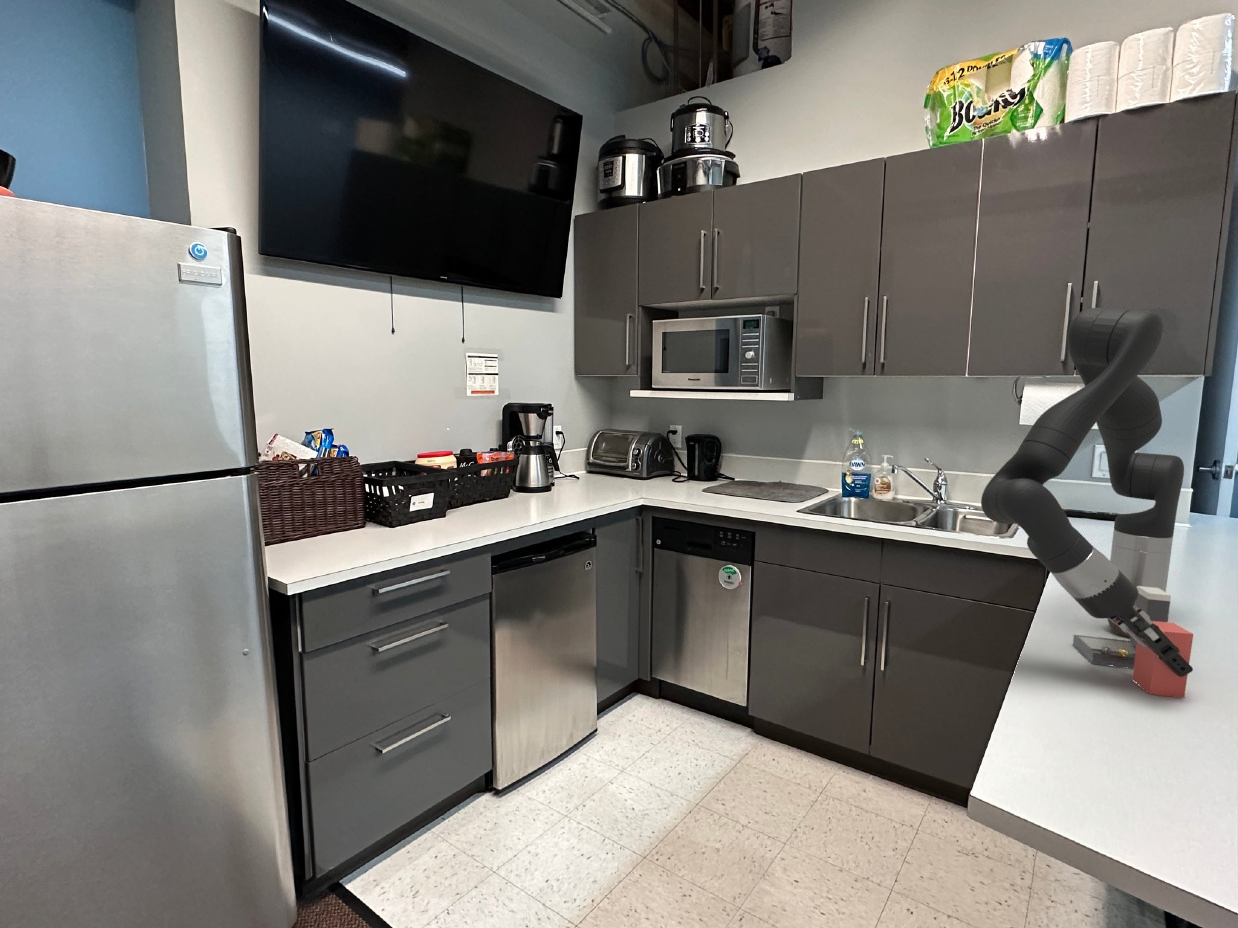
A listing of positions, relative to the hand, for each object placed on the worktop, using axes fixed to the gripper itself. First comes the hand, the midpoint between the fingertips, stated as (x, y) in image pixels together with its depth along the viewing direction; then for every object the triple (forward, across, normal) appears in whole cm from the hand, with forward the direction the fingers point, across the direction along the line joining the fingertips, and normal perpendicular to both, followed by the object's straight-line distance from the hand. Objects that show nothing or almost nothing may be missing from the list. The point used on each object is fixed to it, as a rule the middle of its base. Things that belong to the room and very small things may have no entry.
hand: (1175, 664), depth 95 cm
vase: (+6, +25, 0) cm, 25 cm away
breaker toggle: (+2, +11, 0) cm, 11 cm away
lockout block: (+2, 0, +4) cm, 5 cm away
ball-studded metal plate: (+2, +11, +4) cm, 12 cm away
